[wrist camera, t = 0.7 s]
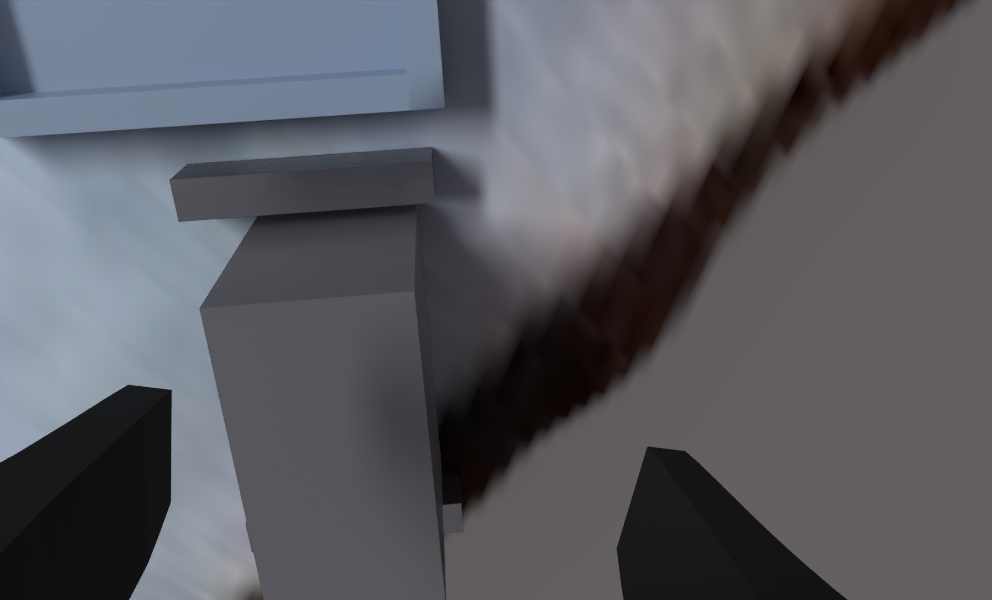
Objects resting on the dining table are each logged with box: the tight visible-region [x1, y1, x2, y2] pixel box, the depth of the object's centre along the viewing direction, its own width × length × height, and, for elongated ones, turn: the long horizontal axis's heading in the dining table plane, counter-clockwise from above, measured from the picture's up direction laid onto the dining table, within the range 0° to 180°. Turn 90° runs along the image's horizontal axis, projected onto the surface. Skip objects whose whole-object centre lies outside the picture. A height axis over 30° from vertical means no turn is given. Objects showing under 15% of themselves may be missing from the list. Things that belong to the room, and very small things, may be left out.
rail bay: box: [170, 147, 463, 552], centre depth 21 cm, size 6×11×2 cm, turn 3°
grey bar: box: [200, 204, 446, 600], centre depth 19 cm, size 4×8×6 cm, turn 3°
